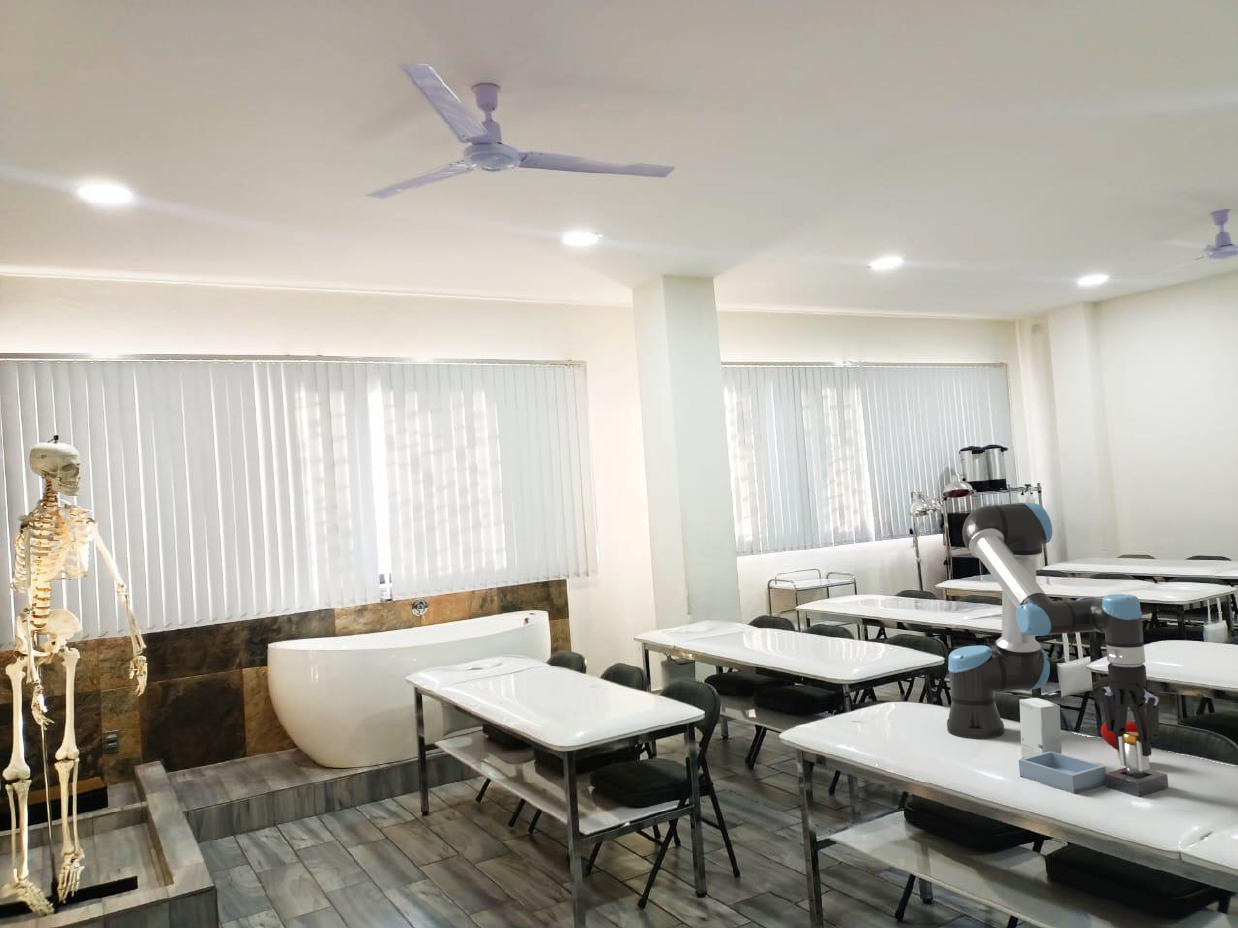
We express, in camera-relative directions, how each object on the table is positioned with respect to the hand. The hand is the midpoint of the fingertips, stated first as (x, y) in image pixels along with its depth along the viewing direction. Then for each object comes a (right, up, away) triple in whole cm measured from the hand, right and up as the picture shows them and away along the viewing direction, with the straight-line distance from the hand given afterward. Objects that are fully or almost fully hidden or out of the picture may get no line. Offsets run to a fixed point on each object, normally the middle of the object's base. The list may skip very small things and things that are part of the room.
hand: (1135, 766), depth 199 cm
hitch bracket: (0, -5, 0) cm, 5 cm away
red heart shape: (+7, -5, +17) cm, 19 cm away
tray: (-13, -6, +8) cm, 16 cm away
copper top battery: (0, -5, 0) cm, 5 cm away
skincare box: (-10, -6, +22) cm, 25 cm away
